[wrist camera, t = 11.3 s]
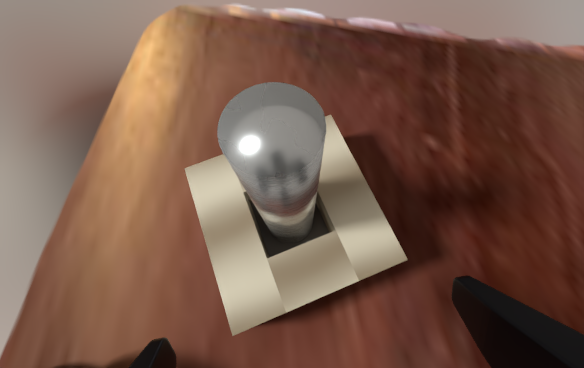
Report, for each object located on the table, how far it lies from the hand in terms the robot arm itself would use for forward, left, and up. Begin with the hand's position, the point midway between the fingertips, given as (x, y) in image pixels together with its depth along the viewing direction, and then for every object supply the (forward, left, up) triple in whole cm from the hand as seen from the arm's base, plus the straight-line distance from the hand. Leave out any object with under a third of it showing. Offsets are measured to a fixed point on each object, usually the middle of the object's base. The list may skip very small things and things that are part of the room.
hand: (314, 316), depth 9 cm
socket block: (+6, -1, -13) cm, 15 cm away
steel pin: (+6, -1, -12) cm, 14 cm away
